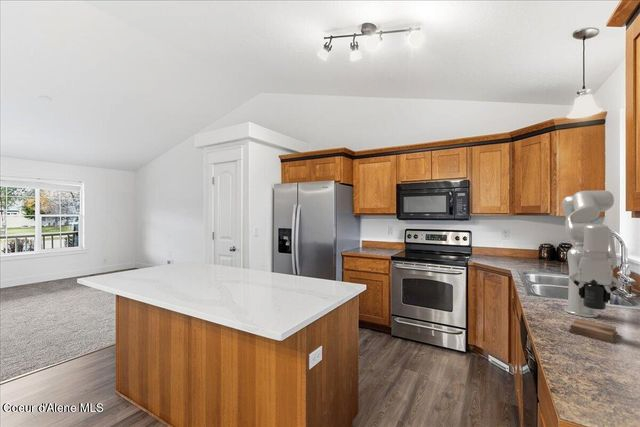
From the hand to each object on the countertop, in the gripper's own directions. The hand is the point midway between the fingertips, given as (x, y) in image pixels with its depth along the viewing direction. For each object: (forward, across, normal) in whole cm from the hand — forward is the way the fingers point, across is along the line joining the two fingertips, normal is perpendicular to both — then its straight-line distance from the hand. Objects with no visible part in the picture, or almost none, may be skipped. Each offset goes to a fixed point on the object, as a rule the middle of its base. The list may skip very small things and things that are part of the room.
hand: (594, 299), depth 121 cm
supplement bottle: (+3, 0, 0) cm, 3 cm away
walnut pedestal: (+14, 0, 0) cm, 14 cm away
